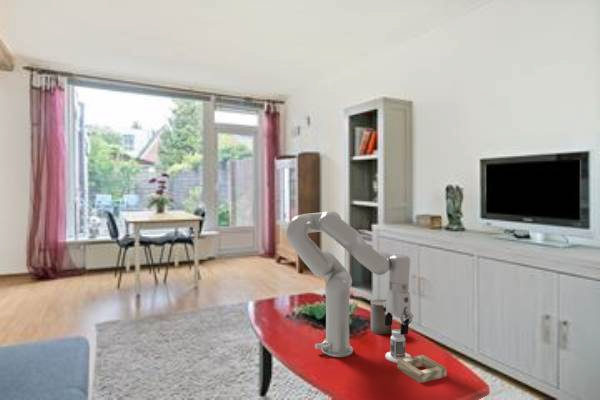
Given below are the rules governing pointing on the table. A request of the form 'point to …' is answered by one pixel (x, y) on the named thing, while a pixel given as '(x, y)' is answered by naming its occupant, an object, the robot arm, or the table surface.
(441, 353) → the table surface
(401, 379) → the table surface
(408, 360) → the socket block
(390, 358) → the felt mat
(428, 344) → the table surface
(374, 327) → the pillar candle
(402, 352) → the pill bottle
